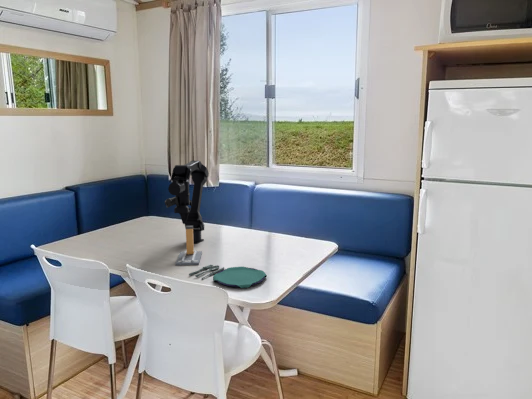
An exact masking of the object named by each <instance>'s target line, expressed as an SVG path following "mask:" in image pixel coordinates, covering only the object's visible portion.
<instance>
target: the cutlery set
mask: <svg viewBox="0 0 532 399" xmlns="http://www.w3.org/2000/svg"><path fill="white" fill-rule="evenodd" d="M210 271H211V272H210ZM208 272H210V273H208ZM206 273H208V274H207V275H206V276H202V275H204V274H206ZM194 275H195V278H198V277H200V276H202V277H201V280H204V279H205V278H207V277H209V276H212V275H213V277H212V279H213V281H216V282H217V283H219V284H220V285H223V286H228V287H237V288H241V289H246V288H250V287H251V286H254V285H257V284H259V283H262V282H263V281H264V280H265V278H267V274H266V272H265V271H264V270H260V269H256V268H254V267H247V266H231V267H227V268H225V267H224V266H223V267H221V268H220V265H218V264H217V265H214V264H208V265H205V266H202V268H200V269H198V270H195V271H192V272H189V273H188V276H189V277H190V276H194Z"/></svg>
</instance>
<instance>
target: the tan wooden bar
mask: <svg viewBox="0 0 532 399" xmlns="http://www.w3.org/2000/svg"><path fill="white" fill-rule="evenodd" d="M185 241H186V243H185V244H186V251H187V254H194V251H195V249H194V248H195V246H194V245H195V243H193V226H186V229H185Z"/></svg>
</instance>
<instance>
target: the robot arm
mask: <svg viewBox="0 0 532 399" xmlns="http://www.w3.org/2000/svg"><path fill="white" fill-rule="evenodd" d="M171 172H172V173H171V177H170V178H171V179H170V180H171V181H172V182H171V183H170V184H169V185H168V187H167V190H168V192H169V193H170V194H171V195H172V196H173V197H168V198H166V200H164V206H166V208H168V209H169V208H171V207H172V206H175V207H174V209H173V212H174V214H179V215H180V219H181V223H182V224H183V225H184V228H185V230H186V226H193V243H194V244H198V243H202V242H203V241H205V240H204V239H203V238H202V231H205V222H204V221H203V217H202V215H201V213H200V212H201V204H202V197H203V196H202V194H203V189H204V186H205V184H206V183H207V181H208V178H209V176H210V175H209V174H210V173H209V169H208V168H207V166H206V165H204V164H203V163H202V162H201V161H200V160H190V161H189V162H186V163H185V164H176V165H174V167H173V170H172V171H171ZM190 178H191V179H192V182H193V189H192V197H191V199H190V195H191V194H190V182H189V181H190ZM189 206H190V207H189Z"/></svg>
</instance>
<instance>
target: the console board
mask: <svg viewBox="0 0 532 399" xmlns="http://www.w3.org/2000/svg"><path fill="white" fill-rule="evenodd" d="M202 254H203V250H196V249H194V254H187V250H184V251H180V252H179V255H178V257H177V259H176V261H175V266H199V265H200V263H201V259H202Z"/></svg>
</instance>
